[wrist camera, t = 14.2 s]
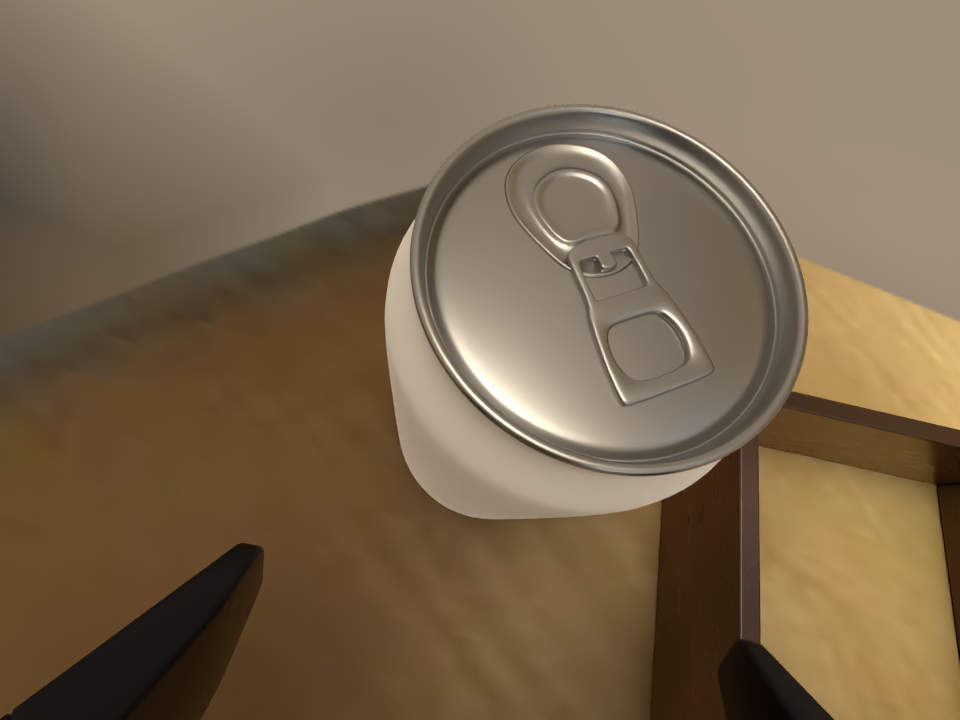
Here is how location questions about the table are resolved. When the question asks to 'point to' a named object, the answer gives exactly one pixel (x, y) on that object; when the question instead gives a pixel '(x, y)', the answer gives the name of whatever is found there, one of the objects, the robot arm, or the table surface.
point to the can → (587, 316)
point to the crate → (735, 537)
